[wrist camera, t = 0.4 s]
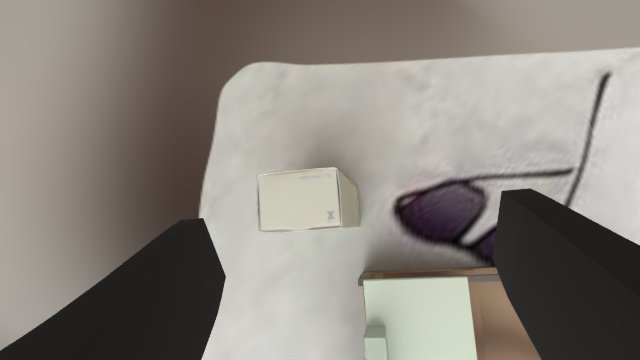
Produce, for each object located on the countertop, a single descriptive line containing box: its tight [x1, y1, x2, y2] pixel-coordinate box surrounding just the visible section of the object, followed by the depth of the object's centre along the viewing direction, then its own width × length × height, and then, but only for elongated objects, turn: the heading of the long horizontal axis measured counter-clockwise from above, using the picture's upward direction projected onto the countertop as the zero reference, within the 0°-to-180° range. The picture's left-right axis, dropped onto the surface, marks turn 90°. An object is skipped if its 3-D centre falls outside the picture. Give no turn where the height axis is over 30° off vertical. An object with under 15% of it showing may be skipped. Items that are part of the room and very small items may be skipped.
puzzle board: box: [358, 266, 541, 360], centre depth 29 cm, size 13×22×5 cm, turn 93°
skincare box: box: [257, 167, 360, 233], centre depth 30 cm, size 6×4×12 cm
